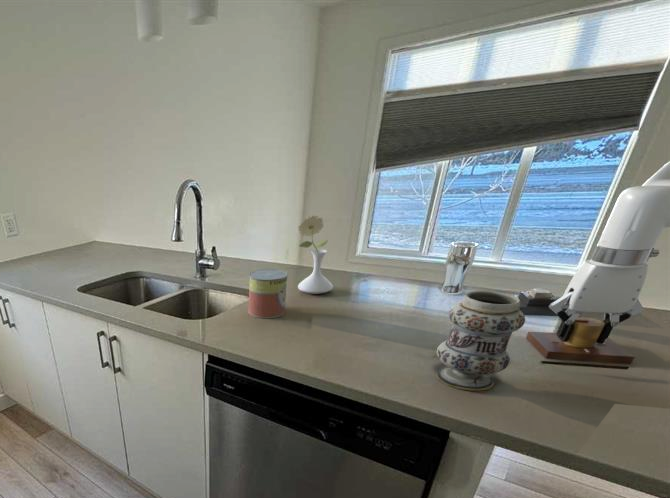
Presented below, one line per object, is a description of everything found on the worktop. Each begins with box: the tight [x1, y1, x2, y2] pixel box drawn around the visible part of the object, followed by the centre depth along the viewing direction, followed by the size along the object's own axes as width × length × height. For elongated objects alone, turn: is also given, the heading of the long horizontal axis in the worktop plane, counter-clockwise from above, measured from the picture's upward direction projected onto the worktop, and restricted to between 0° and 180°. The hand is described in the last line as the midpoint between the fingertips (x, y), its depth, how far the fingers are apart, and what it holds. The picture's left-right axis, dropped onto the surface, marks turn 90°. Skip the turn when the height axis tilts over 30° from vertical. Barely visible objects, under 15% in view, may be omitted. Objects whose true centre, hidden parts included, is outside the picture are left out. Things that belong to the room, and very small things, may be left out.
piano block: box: [514, 291, 569, 317], centre depth 112 cm, size 14×10×4 cm
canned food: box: [247, 268, 289, 319], centre depth 125 cm, size 11×11×12 cm
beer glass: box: [439, 241, 479, 296], centre depth 126 cm, size 7×7×15 cm
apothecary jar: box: [435, 290, 526, 392], centre depth 81 cm, size 12×12×18 cm
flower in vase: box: [297, 215, 334, 295], centre depth 135 cm, size 13×11×25 cm
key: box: [528, 288, 553, 298], centre depth 111 cm, size 4×4×2 cm
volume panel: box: [525, 331, 636, 370], centre depth 89 cm, size 14×11×3 cm
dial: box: [564, 316, 605, 348], centre depth 87 cm, size 5×5×5 cm
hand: (579, 339), depth 88 cm, fingers closed on dial, 5 cm apart
